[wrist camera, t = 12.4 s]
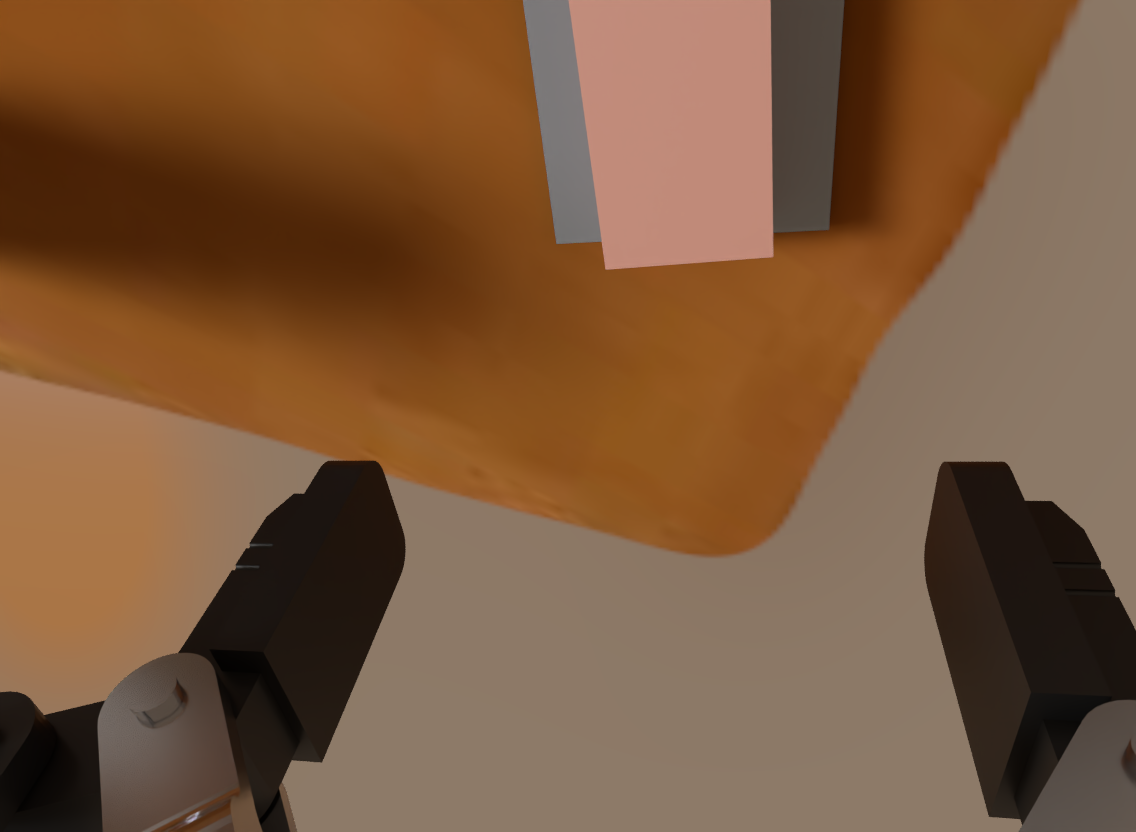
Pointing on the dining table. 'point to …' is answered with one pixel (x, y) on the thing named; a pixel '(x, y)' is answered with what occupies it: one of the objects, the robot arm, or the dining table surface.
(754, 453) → the dining table surface
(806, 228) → the mat
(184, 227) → the dining table surface
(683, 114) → the pink block
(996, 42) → the dining table surface
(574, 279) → the dining table surface
